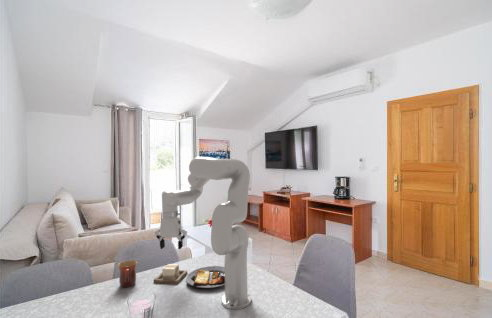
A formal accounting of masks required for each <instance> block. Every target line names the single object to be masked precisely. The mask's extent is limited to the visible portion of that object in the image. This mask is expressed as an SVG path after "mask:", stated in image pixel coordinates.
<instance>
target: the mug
mask: <svg viewBox="0 0 492 318" xmlns="http://www.w3.org/2000/svg"><path fill="white" fill-rule="evenodd" d="M137 264H138V261H137V260H136V259H134V260H133V259H132V260H131V259H130V260H124V261H120V262H119V263H117V268H118V273H119V279H118V283H119V286H120V287H121V288H129V287H133V286H134V285H135V284H136V282H137Z"/></svg>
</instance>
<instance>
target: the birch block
mask: <svg viewBox="0 0 492 318" xmlns="http://www.w3.org/2000/svg"><path fill="white" fill-rule="evenodd" d="M179 270H180V264H177V263H176V264H175V263H168V264H167V265H165V266H163V268H162V272H163V277H162V279H168V280H176V279H177V278H178V277H179V276H180V274H179Z"/></svg>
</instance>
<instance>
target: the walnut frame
mask: <svg viewBox="0 0 492 318" xmlns="http://www.w3.org/2000/svg"><path fill="white" fill-rule="evenodd" d="M187 275H188V270H183V269H179V277H178V278H177V279H176V280H168V279H163V271H162V272H161V273H159V275H157V276H156V277H154V279H153V284H167V285H178V284H179V283H180V282H181V281H182V280H183V279H184V278H185V277H186V276H187Z"/></svg>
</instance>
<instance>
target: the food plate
mask: <svg viewBox="0 0 492 318" xmlns="http://www.w3.org/2000/svg"><path fill="white" fill-rule="evenodd" d="M210 272H213V273H210ZM218 272H219V273H218ZM222 273H223V274H225V266H220V265H219V266H217V265H213V266H209V265H208V266H205V267H199V268H196V269H193V270H192V271H191V272H189V273H188V274H187V277H186V279H185V283H186V284H188V285H189V286H191V287H194V288H198V289H199V288H200V289H214V288H215V289H216V288H218V287H225V275H224V276H222V275H223V274H222ZM221 274H222V275H221ZM219 275H221V276H219Z"/></svg>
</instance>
